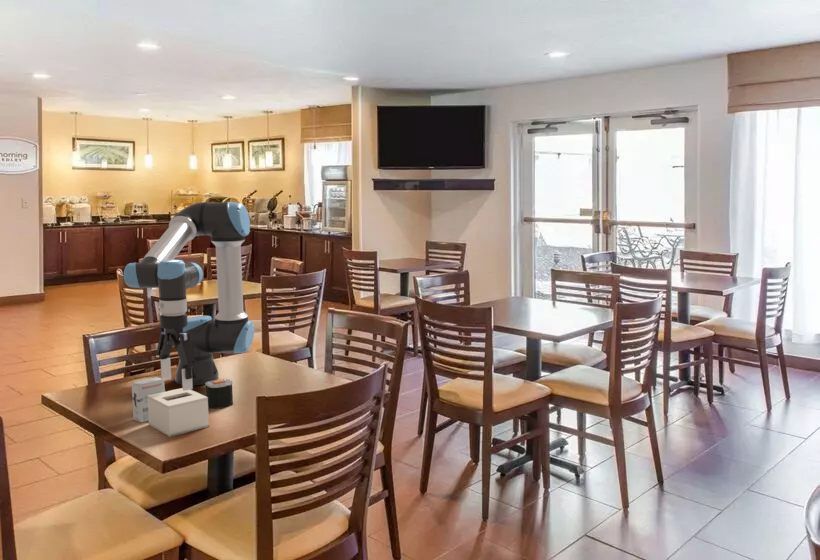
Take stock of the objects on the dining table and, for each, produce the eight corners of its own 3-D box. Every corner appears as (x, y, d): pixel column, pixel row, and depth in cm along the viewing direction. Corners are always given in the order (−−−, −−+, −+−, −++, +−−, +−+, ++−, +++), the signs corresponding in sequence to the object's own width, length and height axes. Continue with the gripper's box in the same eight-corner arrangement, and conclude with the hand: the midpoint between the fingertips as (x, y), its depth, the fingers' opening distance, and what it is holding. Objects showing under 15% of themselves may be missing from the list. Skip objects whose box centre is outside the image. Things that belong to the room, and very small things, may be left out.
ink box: (158, 412, 217) (156, 375, 215) (167, 415, 214) (165, 378, 212) (132, 419, 210) (130, 381, 209) (141, 423, 207) (138, 384, 206)
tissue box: (148, 424, 206) (147, 395, 204) (186, 415, 214) (185, 387, 213) (170, 436, 196) (168, 406, 195) (208, 426, 204) (207, 397, 203)
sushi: (236, 405, 224) (235, 381, 223) (210, 409, 219) (209, 385, 218) (228, 398, 231) (227, 375, 230) (203, 403, 226) (202, 379, 225)
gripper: (142, 309, 206) (146, 378, 209) (181, 321, 189) (184, 396, 192) (166, 306, 212) (169, 373, 215) (206, 317, 194) (209, 391, 197)
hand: (176, 384), depth 203 cm, fingers open, 13 cm apart
